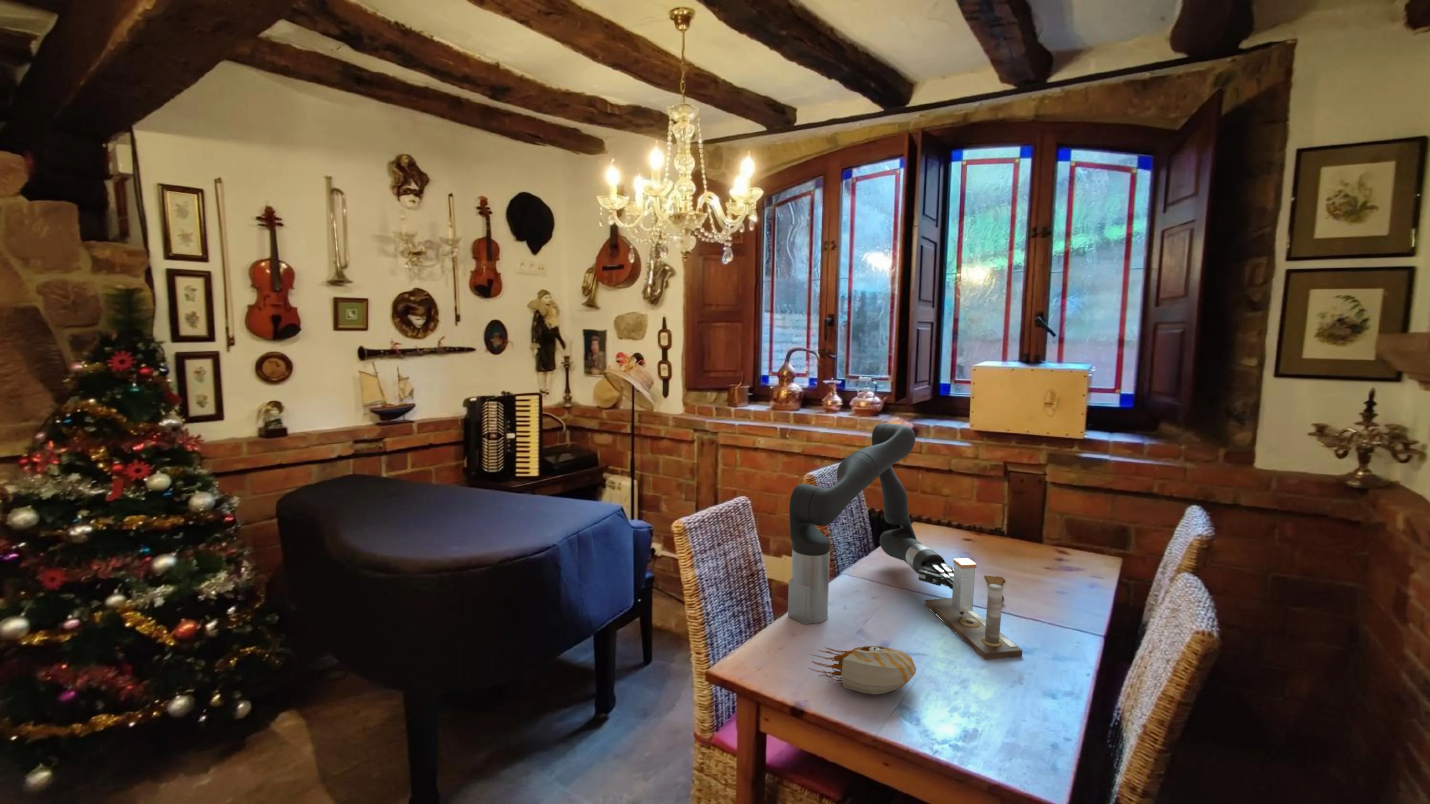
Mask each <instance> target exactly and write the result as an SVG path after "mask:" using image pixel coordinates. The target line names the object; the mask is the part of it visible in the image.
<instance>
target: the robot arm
mask: <svg viewBox="0 0 1430 804" xmlns="http://www.w3.org/2000/svg"><path fill="white" fill-rule="evenodd" d="M915 443H916V434H915V432H914V430H913V428H911V427H910V426H908V425H905V424H899V423H898V424H897V423H878V424H876V425H875V427H874V428H873V431H872V433H871V445H870V446H866V447H862V448H859V449H857V450H855V451H853V452H852V453H851V454H849V455H847V457H845V458H843V460H841V462H840V463H839V464H838V467H837V471H836V482H835V484H834V485H832V486H830V487H821V486H819V485H812V484H808V483H800V484H798V485H796V486H795V487H794V489H793V490H792V492H791V494H790V499H789V509H788V510H789V537H790V540H791V544H792V546H791V548H792V549H791V550H792V551H791V578H790V579H789V580H788V592H787V593H788V594H787V595H788V596H787V599H788V601H787V603H788V604H787V616H788V617H789V618H792V619H794V620H795V621H798V622H800V623H802V624H803V625H808V624H819V623H822V622H825V621H826V620H827V619H828V618H829V617H828V615H829V588H830V587H829V586H830V584H829V583H830V580H829V579H830V559H831V558H830V556H831V555H830V554H831V553H830V552H831V542H830V541H831V540H830V538H829V537H828V536H827V535H825V534H824V533H823V532H822V531H821V530H819V529H818V527H817V526H819V527H826V526H830V524H832V523H833V522H834V521H836V519H837V518H838V517H839V516H840V514H841V513H842V512H844V510H845V509H846V507H848V506H849V504H850V503H851V502H852V501H853V500H854V499H855V498H856V497H857V496H858V495H859V494H860V493H861V492H862V491H863V490H865V489H866V488H867V487H868V486H869V485H871V484H872V483H873V482H874V481H875V480H876V479H878V478H879V481H880V486H881V491H882V493H881V494H882V501H883V502H882V505H883V515H884V517H883V518H884V521H885V522H886V523H887V524H889V525H892V526H893V525H894V526H900V528H895V529H889V530H885V531H883V532H882V533H881V534H880V535H879V545H880V548H881V550H882V551H883V552H884V553H885V554H886V555H887V556H889V557H892V558H895V559H897V560H900V561H903V562H905V563H906V564H907V565H908V566H909V567H910V568H911V569H912V571H914V572H915V573H917V574H918V580H919V581H922V582H925V583H928V584H932V585H935V586H938V587H941V586H942V585H943V586H944V587H948V588H949V589H951V590H952V591H953V576H954V567H953V566H951V565H949V564H947V563H946V560H945V559H944V557H943V556H942V555H940V554H939V553H937V552H935V551H934V550H933V549H931V548H930V547H928V546H926V545H924V544H923V543H921V542H920V541H919V540H917V537H916V533H915V531H914V528H913V526H912V521H911V519H910V514H909V513H910V512H909V500H908V495H907V491H906V488H905V487H904V485H903V484H902V481H900V479H899V477H898V476H897V473H896V472H895V470H894V468H893V465H895V464H896V463H898V462H899V461H901V460H902V459H905V458H906V457H908V456H909V455H910V453H912V451H913V448H914V447H915Z"/></svg>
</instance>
